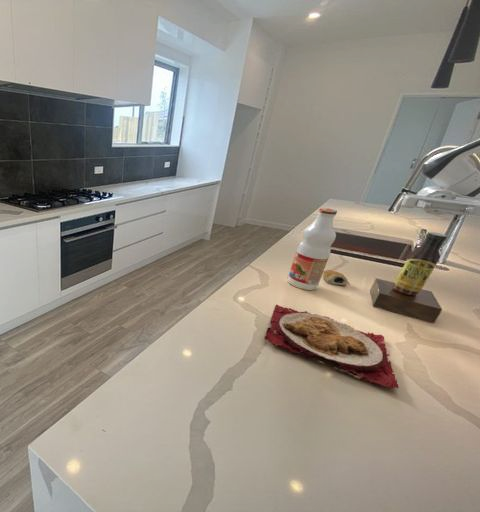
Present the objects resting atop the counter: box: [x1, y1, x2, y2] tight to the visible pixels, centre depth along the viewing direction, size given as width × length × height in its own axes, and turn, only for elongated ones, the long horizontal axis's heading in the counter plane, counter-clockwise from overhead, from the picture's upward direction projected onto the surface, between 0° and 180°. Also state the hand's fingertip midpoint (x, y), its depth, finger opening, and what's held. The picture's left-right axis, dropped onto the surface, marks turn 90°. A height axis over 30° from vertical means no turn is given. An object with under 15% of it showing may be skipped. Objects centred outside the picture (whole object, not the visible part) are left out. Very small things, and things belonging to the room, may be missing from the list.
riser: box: [369, 277, 443, 324], centre depth 97 cm, size 14×14×5 cm
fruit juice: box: [287, 207, 338, 291], centre depth 103 cm, size 9×9×28 cm
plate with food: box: [263, 304, 400, 389], centre depth 78 cm, size 24×26×4 cm
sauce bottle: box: [393, 231, 448, 296], centre depth 92 cm, size 7×6×20 cm
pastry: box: [323, 269, 349, 286], centre depth 113 cm, size 9×7×4 cm
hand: (447, 208), depth 98 cm, fingers open, 8 cm apart
